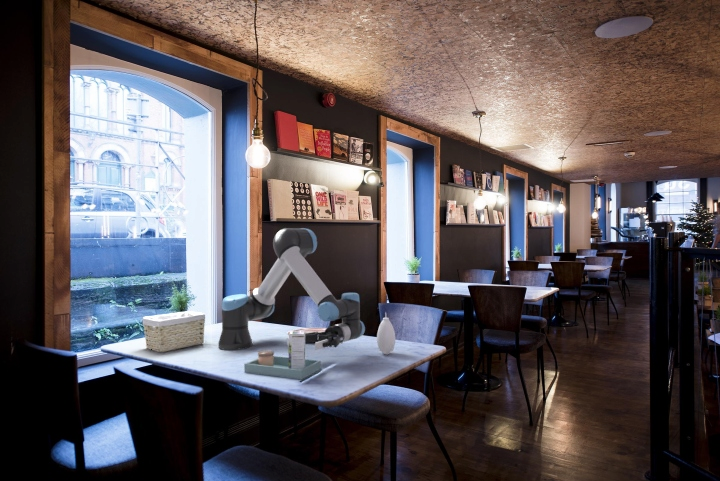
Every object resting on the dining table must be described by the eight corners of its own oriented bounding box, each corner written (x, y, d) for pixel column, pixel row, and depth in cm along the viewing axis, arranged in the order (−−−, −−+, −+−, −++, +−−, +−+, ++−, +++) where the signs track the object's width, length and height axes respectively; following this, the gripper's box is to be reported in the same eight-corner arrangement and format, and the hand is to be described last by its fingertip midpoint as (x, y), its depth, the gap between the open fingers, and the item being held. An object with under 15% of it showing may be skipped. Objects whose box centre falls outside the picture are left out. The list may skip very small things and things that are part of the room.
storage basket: (157, 354, 205) (157, 320, 205) (141, 348, 216) (140, 316, 216) (207, 344, 223) (206, 313, 223) (189, 339, 234) (189, 310, 234)
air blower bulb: (375, 352, 204) (374, 310, 204) (392, 351, 205) (391, 309, 205) (379, 356, 196) (379, 313, 196) (397, 355, 198) (397, 312, 198)
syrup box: (289, 370, 174) (289, 330, 174) (305, 369, 174) (305, 330, 174) (288, 374, 168) (288, 333, 168) (305, 374, 168) (304, 333, 168)
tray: (244, 374, 172) (244, 363, 172) (267, 365, 185) (266, 355, 185) (301, 382, 162) (301, 370, 162) (320, 371, 175) (320, 360, 175)
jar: (254, 369, 175) (254, 353, 175) (264, 365, 180) (264, 350, 180) (268, 371, 173) (267, 354, 173) (277, 367, 178) (276, 351, 178)
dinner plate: (311, 330, 254) (311, 324, 254) (352, 336, 239) (352, 329, 239) (275, 340, 232) (275, 333, 232) (318, 346, 216) (318, 339, 216)
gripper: (362, 347, 183) (328, 359, 166) (313, 340, 198) (277, 350, 180) (362, 328, 183) (328, 337, 166) (313, 322, 198) (277, 330, 180)
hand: (301, 344), depth 173 cm, fingers open, 13 cm apart
